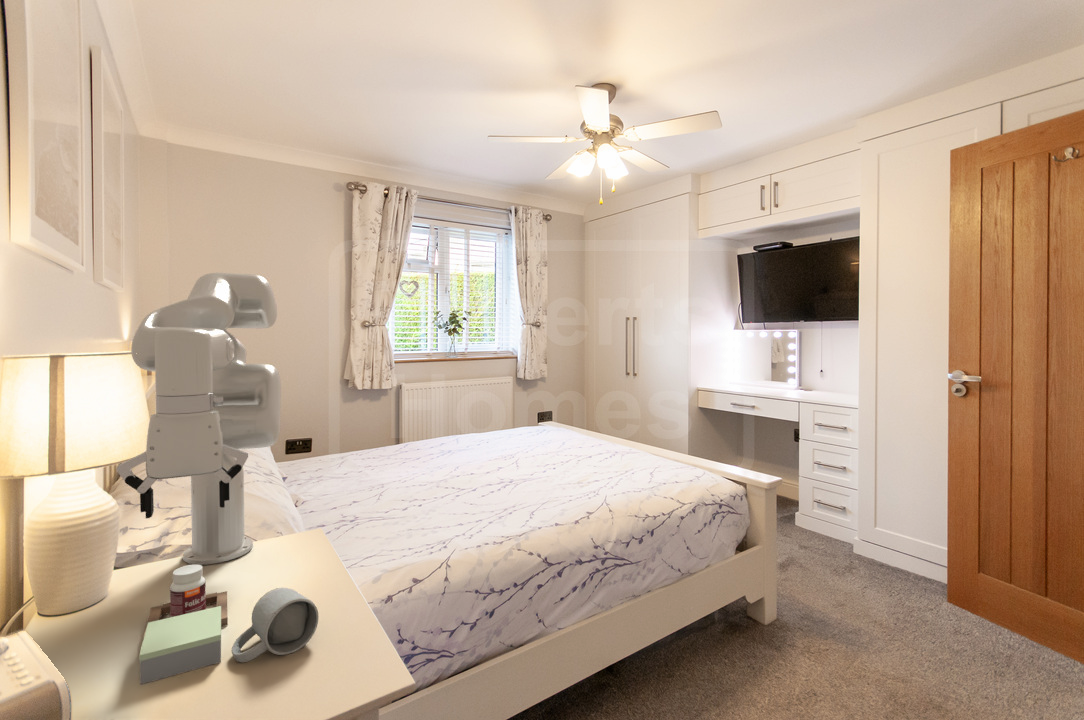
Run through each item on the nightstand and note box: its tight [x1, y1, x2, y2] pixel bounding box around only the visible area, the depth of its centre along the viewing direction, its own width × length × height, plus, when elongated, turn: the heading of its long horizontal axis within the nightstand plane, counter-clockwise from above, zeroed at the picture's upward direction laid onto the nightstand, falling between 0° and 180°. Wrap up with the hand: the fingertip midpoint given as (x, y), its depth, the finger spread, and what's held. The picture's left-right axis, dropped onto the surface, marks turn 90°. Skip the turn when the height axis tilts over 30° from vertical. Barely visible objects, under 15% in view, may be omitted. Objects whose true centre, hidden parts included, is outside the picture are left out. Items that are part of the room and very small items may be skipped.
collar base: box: [142, 590, 229, 641], centre depth 82 cm, size 11×11×1 cm
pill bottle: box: [169, 564, 207, 618], centre depth 82 cm, size 5×5×8 cm
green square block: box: [139, 606, 222, 685], centre depth 73 cm, size 9×9×4 cm
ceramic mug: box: [231, 587, 319, 663], centre depth 76 cm, size 11×8×8 cm
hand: (187, 510), depth 82 cm, fingers open, 9 cm apart
